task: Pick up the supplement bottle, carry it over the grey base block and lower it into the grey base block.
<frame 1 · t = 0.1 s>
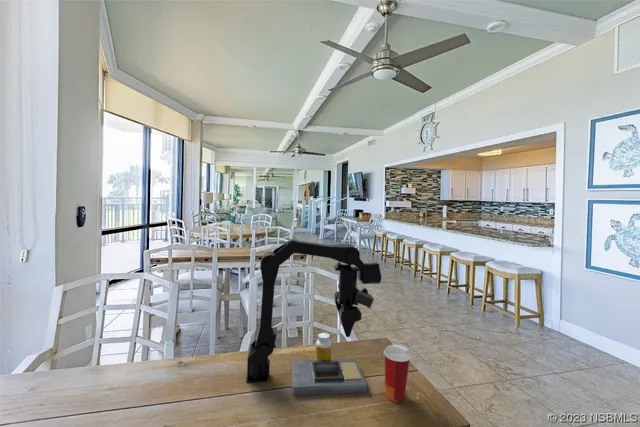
hand: (345, 330, 101), 15 cm above the table, fingers open, 9 cm apart
paper cup: (394, 396, 91), on the table
supplement bottle: (322, 362, 108), on the table
grey base block: (326, 379, 98), on the table
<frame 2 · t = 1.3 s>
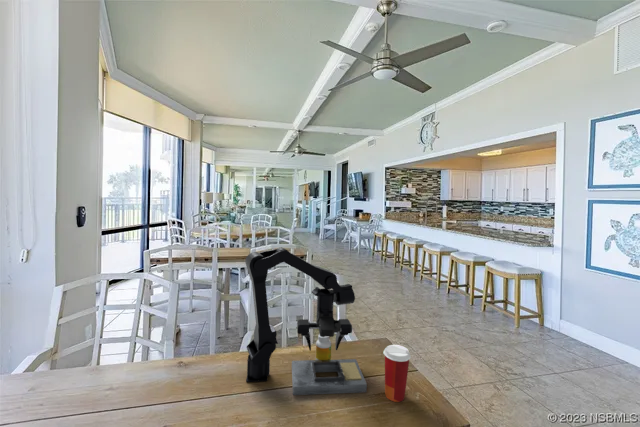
hand: (323, 349, 108), 4 cm above the table, fingers open, 9 cm apart
nothing on the table moved.
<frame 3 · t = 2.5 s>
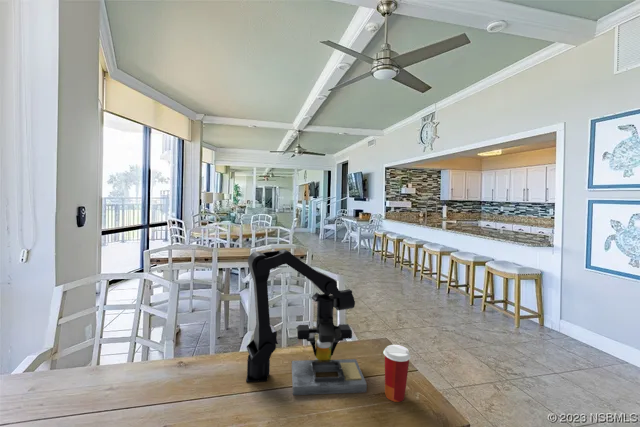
hand: (323, 355, 108), 3 cm above the table, fingers closed on supplement bottle, 5 cm apart
supplement bottle: (322, 362, 108), on the table, touching gripper
everything else where it was.
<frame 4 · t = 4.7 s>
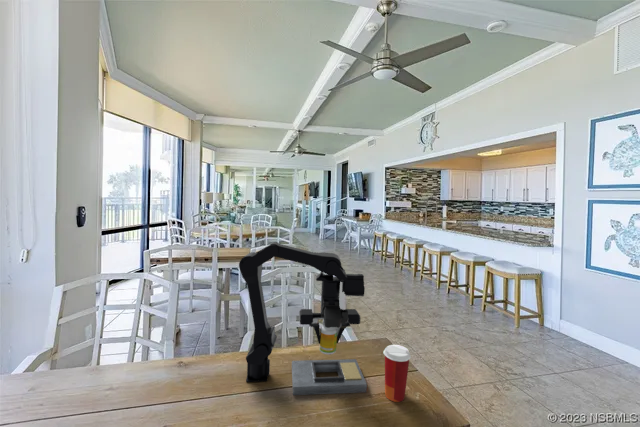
hand: (328, 342, 97), 12 cm above the table, fingers closed on supplement bottle, 5 cm apart
supplement bottle: (327, 351, 98), point 9 cm above the table, touching gripper
everything else where it was.
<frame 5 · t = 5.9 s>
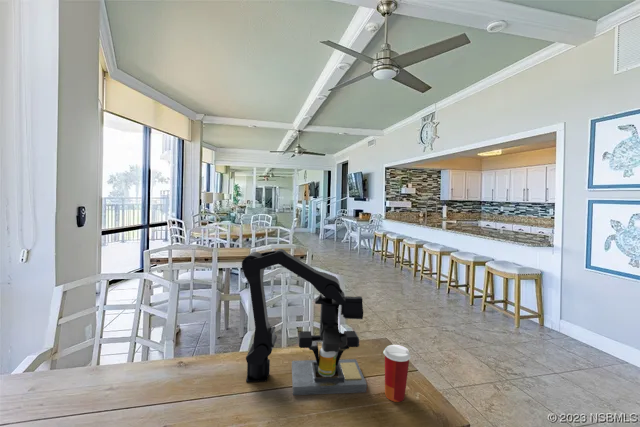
hand: (327, 365, 98), 5 cm above the table, fingers closed on supplement bottle, 5 cm apart
supplement bottle: (326, 373, 98), point 2 cm above the table, touching gripper
everything else where it was.
when the fingers open (4 cm above the table, at t = 6.8 s): supplement bottle drops 2 cm, resting in grey base block.
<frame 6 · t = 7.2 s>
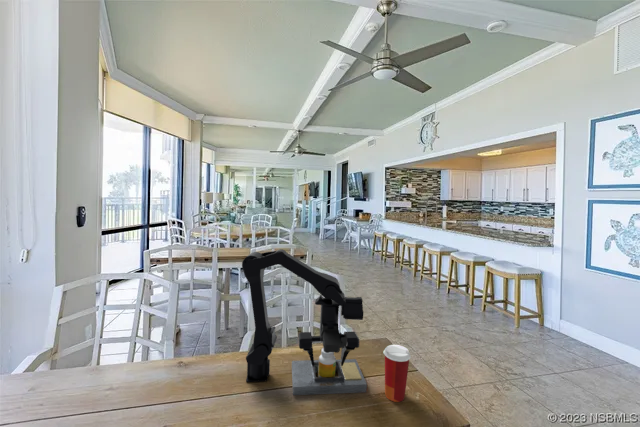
hand: (327, 365, 98), 4 cm above the table, fingers open, 9 cm apart
supplement bottle: (326, 380, 98), resting in grey base block
everything else where it was.
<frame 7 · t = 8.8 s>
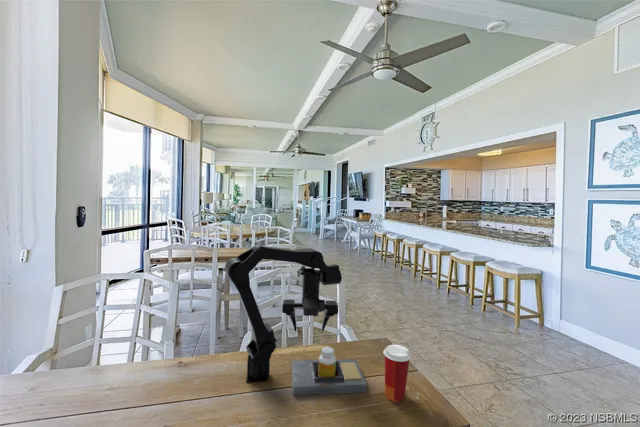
hand: (309, 331, 105), 12 cm above the table, fingers open, 9 cm apart
nothing on the table moved.
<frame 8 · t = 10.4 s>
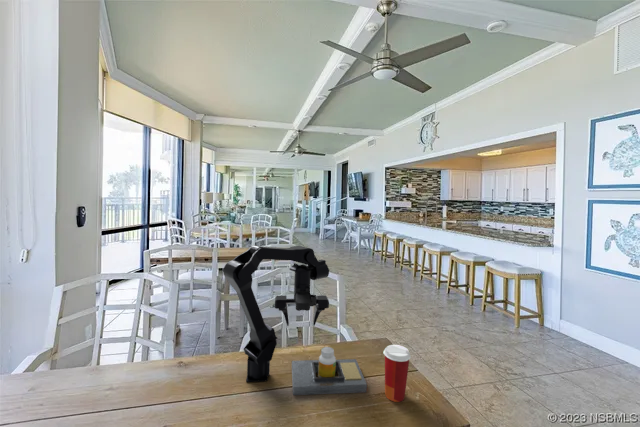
hand: (300, 325, 109), 12 cm above the table, fingers open, 9 cm apart
nothing on the table moved.
at the end: supplement bottle 0.1 cm off-centre on the grey base block, point 0.0 cm above the grey base block's base; supplement bottle tilted 0°; the gripper is holding nothing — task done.
